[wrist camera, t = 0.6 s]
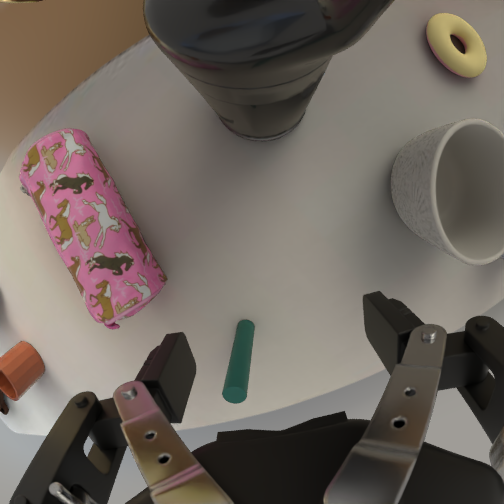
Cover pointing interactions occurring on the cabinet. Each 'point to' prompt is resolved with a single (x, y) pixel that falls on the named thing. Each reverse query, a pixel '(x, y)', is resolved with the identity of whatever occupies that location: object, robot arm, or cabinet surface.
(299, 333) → the cabinet surface
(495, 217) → the planter
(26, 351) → the cup
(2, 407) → the dish
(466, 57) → the donut
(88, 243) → the pencil case
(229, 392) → the teal cylinder rod
